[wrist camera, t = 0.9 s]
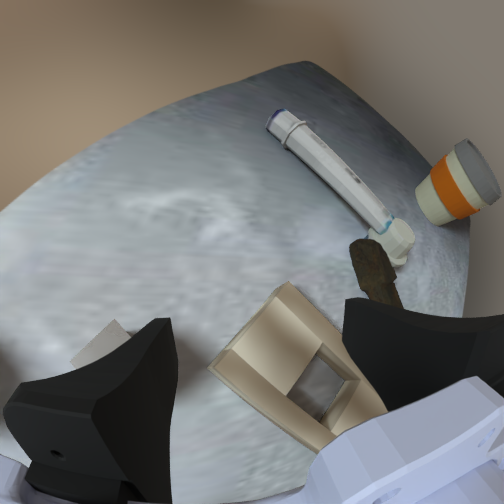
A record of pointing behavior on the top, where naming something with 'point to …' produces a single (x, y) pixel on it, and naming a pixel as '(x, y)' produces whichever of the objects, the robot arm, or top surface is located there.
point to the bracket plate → (294, 368)
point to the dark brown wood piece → (374, 271)
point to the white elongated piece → (344, 184)
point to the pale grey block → (101, 345)
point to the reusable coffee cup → (457, 185)
